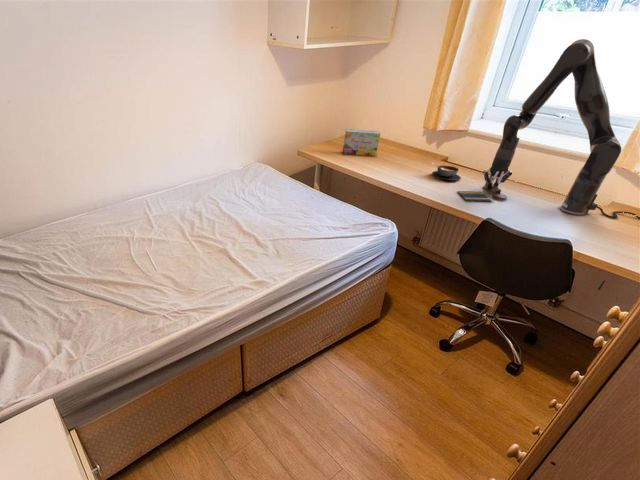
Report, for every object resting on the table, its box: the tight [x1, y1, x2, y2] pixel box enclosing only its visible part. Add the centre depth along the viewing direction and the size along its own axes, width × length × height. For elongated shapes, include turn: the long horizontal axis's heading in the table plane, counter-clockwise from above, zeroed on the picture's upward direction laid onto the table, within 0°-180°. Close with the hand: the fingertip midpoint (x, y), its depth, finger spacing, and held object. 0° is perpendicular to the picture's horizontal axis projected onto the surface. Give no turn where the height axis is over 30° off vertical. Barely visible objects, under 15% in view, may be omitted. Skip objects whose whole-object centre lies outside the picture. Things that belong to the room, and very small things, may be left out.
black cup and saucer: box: [431, 162, 462, 181], centre depth 211 cm, size 15×16×7 cm
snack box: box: [342, 128, 381, 158], centre depth 243 cm, size 21×6×15 cm, turn 75°
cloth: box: [456, 190, 493, 203], centre depth 190 cm, size 12×11×1 cm
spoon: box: [483, 181, 508, 202], centre depth 193 cm, size 17×6×3 cm, turn 175°
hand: (491, 189), depth 196 cm, fingers closed on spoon, 2 cm apart
